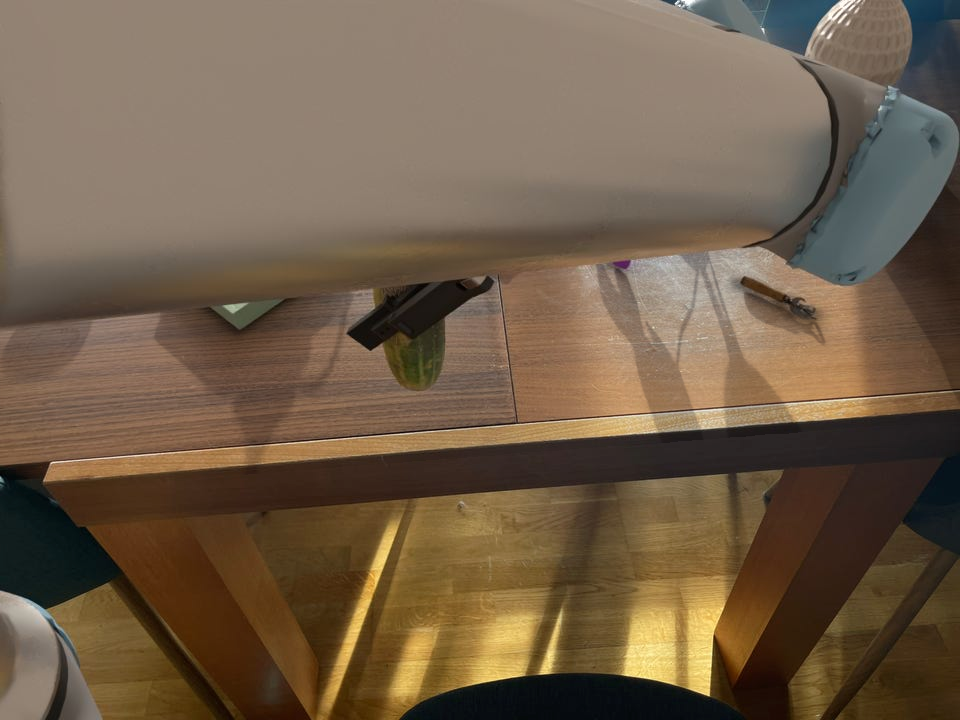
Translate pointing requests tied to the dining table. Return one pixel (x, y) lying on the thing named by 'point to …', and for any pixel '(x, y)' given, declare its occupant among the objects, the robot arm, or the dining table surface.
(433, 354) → the vegetable
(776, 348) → the dining table surface
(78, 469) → the dining table surface
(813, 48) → the vase
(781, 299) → the can opener
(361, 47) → the robot arm
